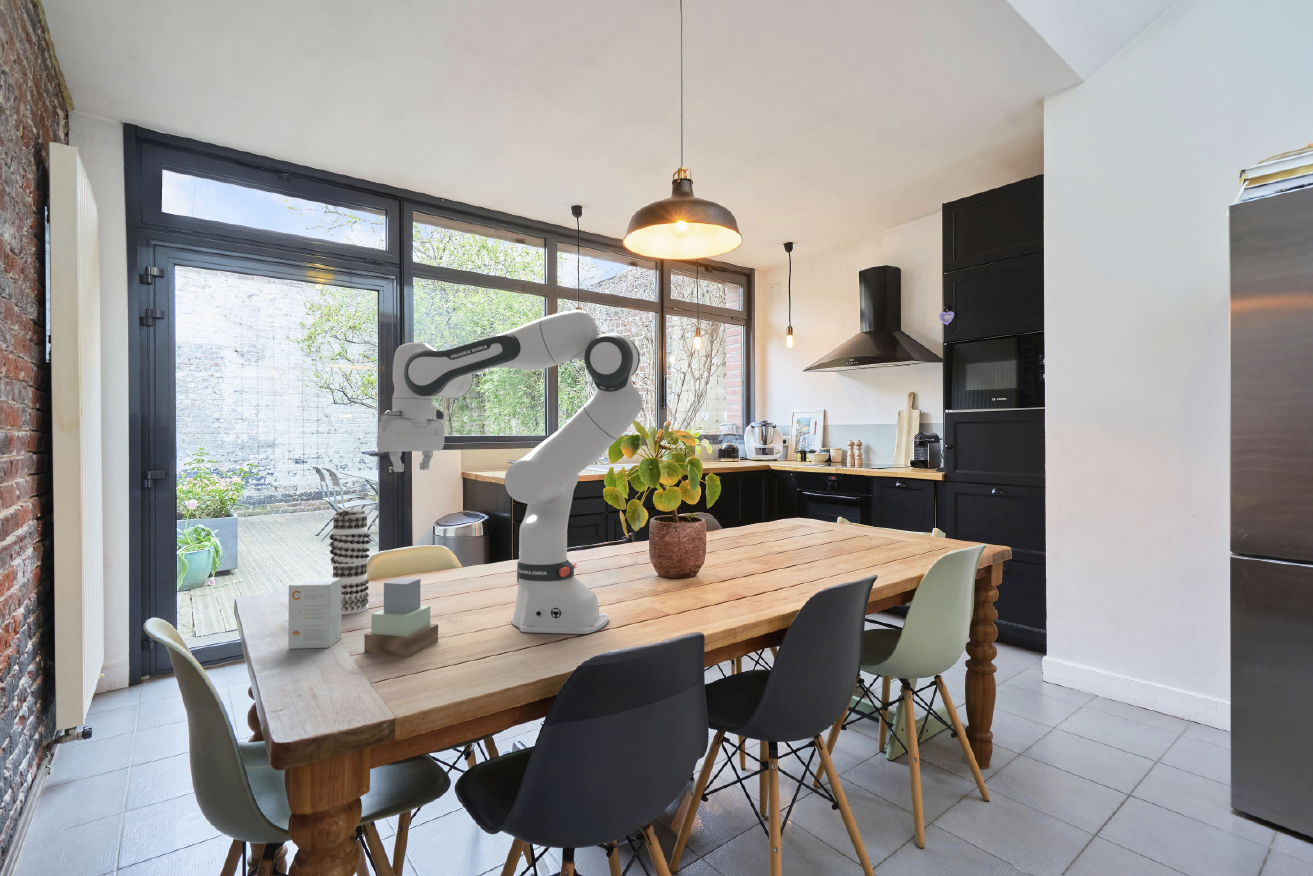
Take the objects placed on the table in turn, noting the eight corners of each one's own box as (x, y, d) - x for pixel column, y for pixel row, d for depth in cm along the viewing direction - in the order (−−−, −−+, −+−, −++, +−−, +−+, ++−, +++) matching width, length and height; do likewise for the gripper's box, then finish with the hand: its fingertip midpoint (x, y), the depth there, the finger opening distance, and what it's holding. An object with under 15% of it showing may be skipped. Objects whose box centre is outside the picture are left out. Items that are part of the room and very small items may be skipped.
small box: (342, 638, 132) (342, 577, 132) (329, 648, 125) (329, 584, 125) (302, 639, 131) (302, 578, 131) (287, 649, 125) (287, 585, 125)
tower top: (430, 625, 130) (430, 606, 130) (406, 636, 122) (407, 616, 122) (396, 622, 131) (396, 603, 131) (371, 634, 124) (371, 614, 124)
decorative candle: (331, 617, 147) (332, 512, 147) (325, 608, 154) (326, 508, 155) (373, 611, 152) (374, 509, 152) (365, 603, 160) (366, 506, 160)
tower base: (438, 643, 130) (438, 624, 130) (407, 659, 121) (407, 638, 121) (397, 639, 133) (397, 620, 133) (364, 654, 123) (364, 634, 123)
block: (420, 607, 129) (420, 578, 129) (405, 614, 124) (406, 584, 124) (398, 606, 130) (399, 577, 130) (383, 612, 125) (383, 582, 125)
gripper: (394, 409, 135) (393, 473, 135) (449, 413, 154) (448, 469, 154) (369, 409, 136) (369, 472, 136) (427, 413, 156) (426, 468, 156)
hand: (412, 470), depth 145 cm, fingers open, 8 cm apart
